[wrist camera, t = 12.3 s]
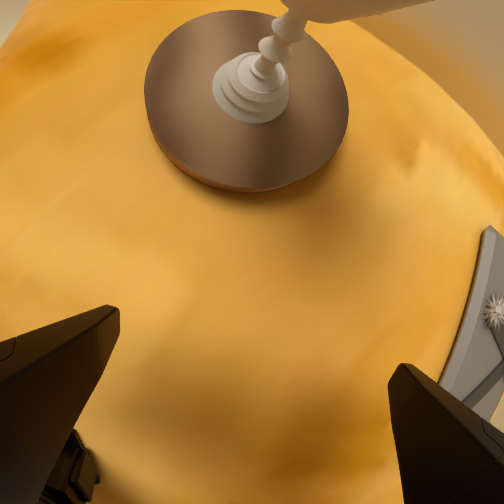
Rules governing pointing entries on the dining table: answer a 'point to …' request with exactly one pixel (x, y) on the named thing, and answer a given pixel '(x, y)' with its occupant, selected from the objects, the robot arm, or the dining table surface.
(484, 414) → the decorative plate
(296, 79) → the walnut pedestal
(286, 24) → the chalice
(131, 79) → the dining table surface
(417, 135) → the dining table surface
